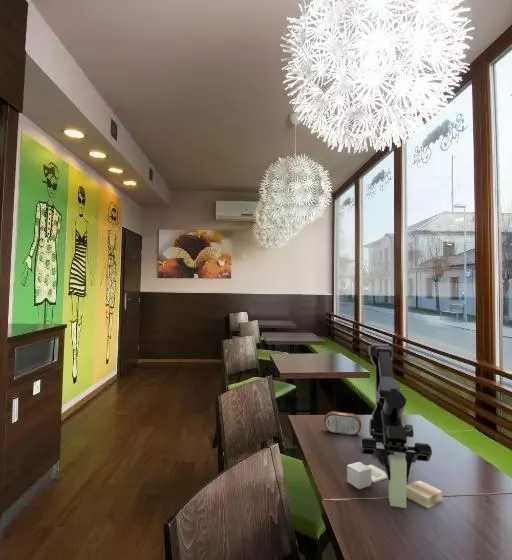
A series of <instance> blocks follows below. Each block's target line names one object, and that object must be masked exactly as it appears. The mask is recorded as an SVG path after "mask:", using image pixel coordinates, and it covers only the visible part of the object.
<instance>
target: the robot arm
mask: <svg viewBox="0 0 512 560" xmlns="http://www.w3.org/2000/svg"><path fill="white" fill-rule="evenodd" d="M368 356H369V357H370V361H371V363H372V365H373V366H374V376H375V377H374V379H375V408H374V410H373V411H372V413H371V418H370V419H369V425H368V432H369V435H370V436H371V437H367V436H366V437H365V436H363V437H362V438H361V441H360V454H361V455H367V456H373V454H374V456H373V457H374V459H378V462H379V463H380V465H381V466H382V469H383V471H385V473H386V475H387V477H388V478H387V479H388V481H389V480H391V477H390V469H389V458H388V457H389V454H390V455H395V453H397V454H404V455H405V456H404V457H405V460H406V462H407V483H408V482H409V477H410V470H411V466H412V464H415V463H417V462H416V461H418V462H430V459H431V457H432V455H433V451H432V450H433V449H432V447H431V445H430V444H429V443H424V442H423V443H422V442H414V446H407V445H406V444H407V440H408V438H413V437H414V426H413V424H405V425H404V426H403V419H402V416H403V415H404V411H405V408H406V404H407V398H406V397H405V395H404V394H403V392H402V391H401V390H400V385H399V383H398V382H397V381H396V380H395V378H394V373H393V364H392V358H394V347H392V346H390V345H389V344H388V343H375V342H374V343H371V345H369V346H368Z"/></svg>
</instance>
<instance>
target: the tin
mask: <svg viewBox="0 0 512 560" xmlns="http://www.w3.org/2000/svg"><path fill="white" fill-rule="evenodd" d="M323 422H324V423H323V424H324V426H325V429H326V430H327V431H328V432H330V433H331V432H332V434H336V433H339V434H340V435H344V434H345V435H344V436H356V435H358V434H359V433H360V432H361V430H362V420H361V419H360V417H359V416H358V415H356V414H354V413H349V412H341V411H329V412H327V413H326V415H325V416H324V419H323Z"/></svg>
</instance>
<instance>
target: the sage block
mask: <svg viewBox="0 0 512 560" xmlns="http://www.w3.org/2000/svg"><path fill="white" fill-rule="evenodd" d="M388 464H389V469H390V477H391V480H389V479H388V501H389V505H390V507H396V508H403V509H407V497H406V486H407V485H408V484H407V483H408V482H407V462H406V460H405V456H404V455H397V454H391V455H390V454H389V455H388Z"/></svg>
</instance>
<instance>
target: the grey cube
mask: <svg viewBox="0 0 512 560" xmlns="http://www.w3.org/2000/svg"><path fill="white" fill-rule="evenodd" d="M346 467H347V468H346V482H347V483H348V484H350V485H352V486H353V487H355V488H356V489H358V490H361V489H364V488H368V487H371V486H372V482H371V468H370V467H368V465H365V464H364V463H363V462H361V461H357V462H353V463H350V464H347V465H346Z"/></svg>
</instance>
